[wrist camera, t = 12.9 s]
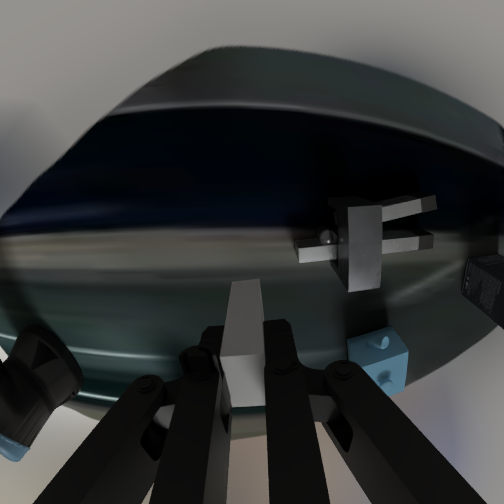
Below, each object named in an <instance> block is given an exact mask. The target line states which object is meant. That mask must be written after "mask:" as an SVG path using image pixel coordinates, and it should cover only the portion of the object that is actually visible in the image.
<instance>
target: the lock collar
mask: <svg viewBox="0 0 504 504" xmlns="http://www.w3.org/2000/svg"><path fill="white" fill-rule="evenodd" d="M328 206H330V207H332V208H333V209H335V210H337V223H338V259H331V260H330V264H331V266H332V268H333V269H334V271H335V272H336V274H337V275H338V277H339V278H340V280H341V281H342V283H343V284H344V286H345V287H346V289H347V291H348V292H353V291H360V290H367V289H374V288H380V279H381V262H382V205H381V204H378V203H375V202H372V201H369V200H366V199H363V198H360V197H357V196H343V197H329V198H328Z"/></svg>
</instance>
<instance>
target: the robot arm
mask: <svg viewBox="0 0 504 504" xmlns="http://www.w3.org/2000/svg"><path fill="white" fill-rule="evenodd" d="M178 357H179V360H180V363H181V366H182V369H183V372H184V376H183V377H182V378H180V379H177V380H174V381H169V382H163V380H162V379H161V378H160V377H158V376H156V375H144V376H141V377H139V378H137V379H136V380H135V381H133V382H132V383H131V385H130V386H129V387H128V388H127V389H126V391H125V392H124V393H123V394H122V395H121V397H120V398H119V399H118V400H117V401H116V403H115V404H114V405H113V406H112V407H111V409H110V410H109V411H108V412H107V413H106V415H105V416H104V417H103V418H102V419H101V421H100V422H99V423H98V424H97V425H96V427H95V428H94V429H93V430H92V432H91V433H90V434H89V435H88V437H87V438H86V439H85V440H84V441H83V442H82V444H81V445H80V446H79V447H78V449H77V450H76V451H75V452H74V454H73V455H72V456H71V457H70V458H69V459H68V461H67V462H66V463H65V465H64V466H63V467H62V468H61V469H60V471H59V472H58V473H57V474H56V475H55V477H54V478H53V479H52V480H51V482H50V483H49V484H48V485H47V487H46V488H45V489H44V490H43V492H42V493H41V494H40V495H39V496H38V498H37V499H36V500H35V502H34V503H33V504H141V503H142V502H143V500H144V498H145V496H146V495H147V493H148V491H149V490H150V488H151V486H152V485H153V483H154V485H153V489H152V494H151V497H150V502H149V504H226V498H227V481H228V467H229V452H230V437H231V422H232V416H231V411H230V400H231V404H232V407H245V406H260V405H265V406H266V429H267V451H268V476H269V503H270V504H330V500H329V494H328V489H327V484H326V478H325V473H324V468H323V463H322V458H321V453H320V448H319V443H318V438H317V433H316V428H315V423H314V421H317V422H321V423H322V425H323V427H324V428H325V430H326V432H327V433H328V435H329V437H330V438H331V440H332V441H333V443H334V445H335V446H336V448H337V450H338V451H339V453H340V454H341V456H342V458H343V459H344V461H345V463H346V464H347V466H348V467H349V469H350V471H351V472H352V474H353V475H354V477H355V478H356V480H357V482H358V483H359V485H360V486H361V488H362V489H363V491H364V492H365V494H366V495H367V497H368V499H369V500H370V502H371V503H372V504H487V503H486V502H485V501H484V500H483V499H482V498H481V497H480V496H479V494H478V493H477V492H476V491H475V490H474V489H473V488H472V487H471V486H470V485H469V484H468V482H467V481H466V480H465V479H464V478H463V477H462V476H461V475H460V474H459V473H458V471H457V470H456V469H455V468H454V467H453V466H452V465H451V464H450V463H449V462H448V461H447V460H446V458H445V457H444V456H443V455H442V454H441V453H440V452H439V451H438V450H437V449H436V448H435V447H434V445H432V443H431V442H430V441H429V440H428V439H427V438H426V437H425V436H424V435H423V434H422V432H421V431H419V429H418V428H417V427H416V426H415V425H414V424H413V423H412V422H411V420H410V419H409V418H408V417H407V416H406V415H405V414H404V413H403V412H402V411H401V410H400V408H399V407H398V406H397V405H396V404H395V403H394V402H393V401H392V400H391V399H390V398H389V397H388V396H387V394H386V393H385V392H384V391H383V390H382V389H381V388H380V387H379V386H378V385H377V384H376V383H375V381H374V380H373V379H372V378H371V377H370V376H369V375H368V374H367V373H366V372H365V371H364V370H363V368H362V367H361V366H360V365H358V364H357V363H355V362H353V361H349V360H339V361H334V362H333V363H331V364H329V365H328V366H327V367H326V368H325V370H317V369H311V368H308V367H306V366H304V365H302V364H301V363H300V361H299V359H298V356H297V351H296V347H295V343H294V338H293V334H292V329H291V325H290V324H289V323H288V322H287V321H286V320H285V319H279V320H270V321H264V315H263V306H262V297H261V288H260V279H254V280H244V281H234V282H232V286H231V292H230V298H229V304H228V310H227V316H226V322H225V325H223V326H208V328H207V329H206V330H205V331H204V332H203V333H202V336H201V341H200V343H199V345H197V346H192V347H189V348H187V349H185V350H184V351H182V352H181V353H180V355H179V356H178ZM82 386H83V376H82V373H81V370H80V368H79V366H78V364H77V362H76V361H75V359H74V358H73V356H72V355H71V353H70V352H69V351H68V350H67V348H66V347H65V346H64V345H63V344H62V343H61V342H60V341H59V340H58V339H57V338H56V337H55V336H54V335H52V334H51V333H50V332H48V331H47V330H45V329H43V328H41V327H39V326H36V325H29V326H27V327H26V328H25V329H24V330H23V331H21V332H20V334H19V335H18V337H17V339H16V341H15V343H14V345H13V347H12V350H11V352H10V354H9V356H8V358H7V359H6V360H5V361H4V362H3V363H2V361H1V359H0V454H1V455H3V456H4V457H5V458H7V459H8V460H10V461H13V462H18V461H20V460H21V458H23V456H24V455H25V453H26V452H27V451H28V450H30V446H31V445H32V443H33V441H34V440H35V438H36V437H37V435H38V433H39V432H40V430H41V429H42V427H43V426H44V424H45V423H46V421H47V420H48V418H49V416H50V415H51V414H52V412H53V411H54V410H55V409H56V408H57V407H59V406H61V405H62V404H64V403H66V402H67V401H69V400H70V399H72V398H74V397H75V396H76V395H77V394H78V393H79V391H80V390H81V388H82Z"/></svg>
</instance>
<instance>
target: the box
mask: <svg viewBox="0 0 504 504" xmlns="http://www.w3.org/2000/svg"><path fill="white" fill-rule="evenodd" d="M461 293H462V295H463V296H464V297H466V298H467V299H468V300H469V301H471V302H472V303H473V304H474V305H476V306H477V307H478V308H479V309H480V310H482V311H483V312H484V313H485V314H486V315H487V316H489V317H490V318H491V319H492V320H493V321H494V322H496V323H497V324H498V325H499V326H500V327H502V328H503V329H504V257H503V256H501V255H500V254H494V255H486V256H479V257H471V258H468V263H467V268H466V273H465V278H464V283H463V288H462V292H461Z"/></svg>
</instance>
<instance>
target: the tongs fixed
mask: <svg viewBox="0 0 504 504" xmlns="http://www.w3.org/2000/svg"><path fill="white" fill-rule="evenodd" d="M315 235H316V237H317V238H312V239H302V240H295V251H296V255H297V258H298V261H299V263H303V262H313V261H322V260H331V259H338V236H336V234H335V233H334V232H333V231H332V230H331V229H330V228H329V227H327V226H326V225H320V226H318V227H317V228H316V230H315ZM433 239H434V235H433V234H431V233H429V232H427V231H425V230H423V229H421V228H415V229H406V230H398V231H387V232H382V254H385V253H393V252H402V251H410V250H423V249H431V248H433Z"/></svg>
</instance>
